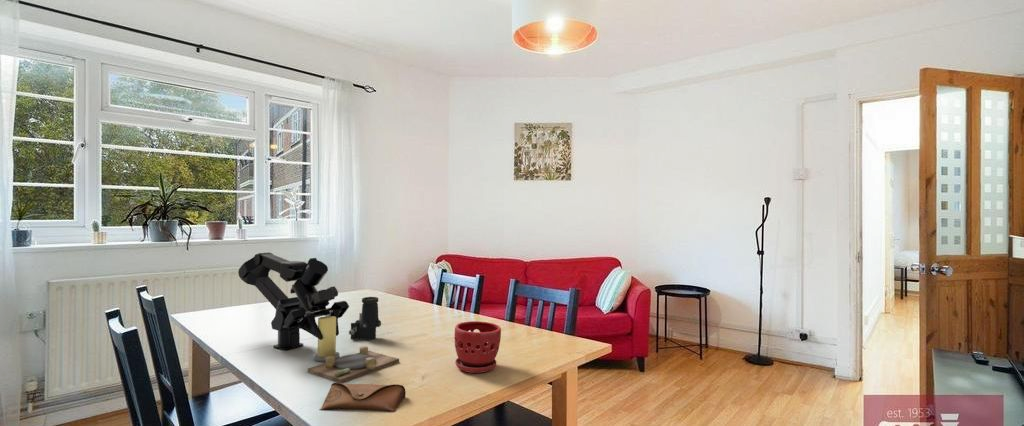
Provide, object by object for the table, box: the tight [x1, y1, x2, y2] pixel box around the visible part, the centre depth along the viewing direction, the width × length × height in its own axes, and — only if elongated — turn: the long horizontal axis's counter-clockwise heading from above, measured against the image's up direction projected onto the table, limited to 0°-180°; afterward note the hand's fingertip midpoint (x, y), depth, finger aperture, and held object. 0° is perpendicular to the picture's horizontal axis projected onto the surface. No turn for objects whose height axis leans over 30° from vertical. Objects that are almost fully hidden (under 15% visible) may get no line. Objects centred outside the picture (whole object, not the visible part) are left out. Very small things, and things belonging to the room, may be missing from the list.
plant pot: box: [454, 320, 502, 374], centre depth 131 cm, size 13×13×12 cm
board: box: [307, 346, 400, 384], centre depth 130 cm, size 15×20×4 cm
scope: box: [348, 296, 382, 341], centre depth 160 cm, size 8×14×10 cm
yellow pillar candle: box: [313, 316, 340, 363], centre depth 138 cm, size 7×7×12 cm
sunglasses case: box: [319, 382, 407, 413], centre depth 107 cm, size 18×7×7 cm
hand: (329, 336), depth 137 cm, fingers closed on yellow pillar candle, 5 cm apart
